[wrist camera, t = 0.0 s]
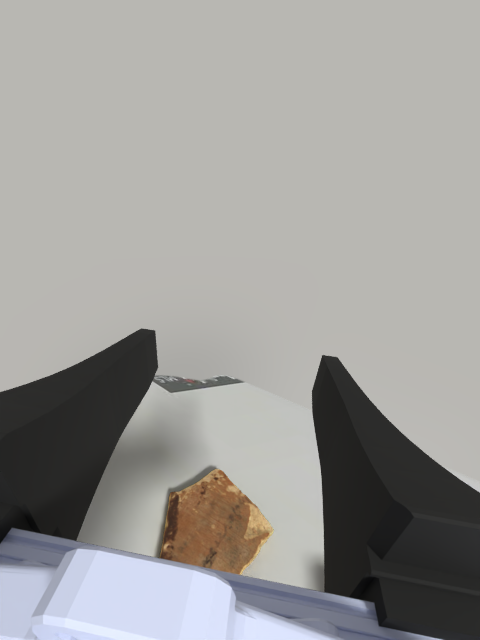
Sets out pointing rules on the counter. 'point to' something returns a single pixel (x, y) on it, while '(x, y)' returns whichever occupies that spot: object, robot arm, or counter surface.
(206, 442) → the counter surface
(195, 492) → the shard
